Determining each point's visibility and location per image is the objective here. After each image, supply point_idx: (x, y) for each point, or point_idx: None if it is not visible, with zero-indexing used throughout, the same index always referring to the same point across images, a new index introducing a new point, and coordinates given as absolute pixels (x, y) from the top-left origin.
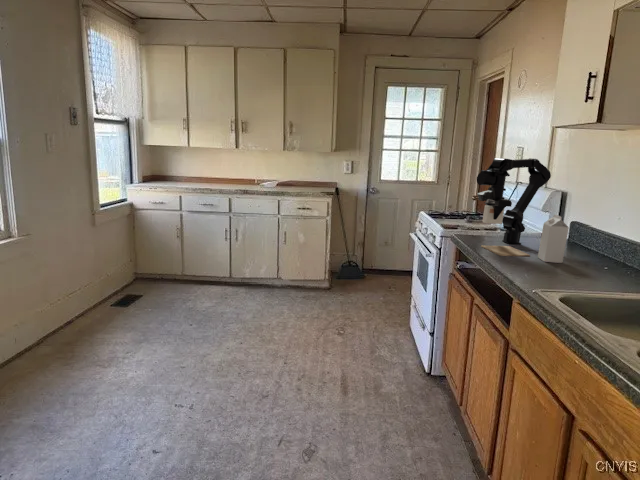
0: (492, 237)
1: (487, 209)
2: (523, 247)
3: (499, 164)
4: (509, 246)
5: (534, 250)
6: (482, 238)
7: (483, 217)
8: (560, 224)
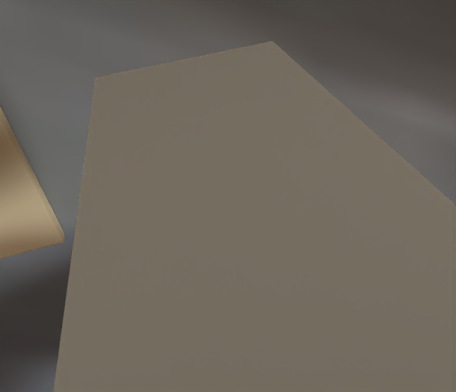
0: (452, 183)
1: (103, 372)
2: None
3: None
4: (44, 238)
5: (48, 368)
6: (410, 78)
7: (281, 84)
8: None
